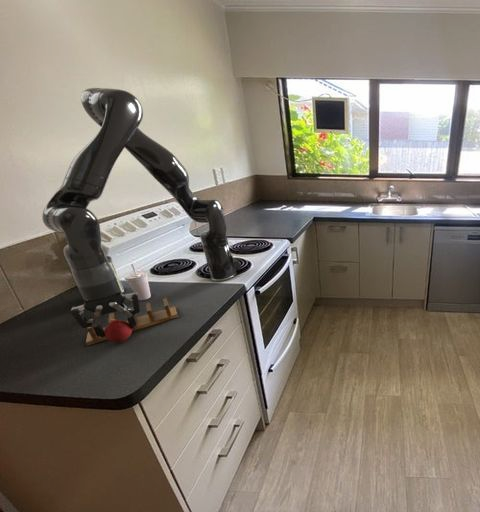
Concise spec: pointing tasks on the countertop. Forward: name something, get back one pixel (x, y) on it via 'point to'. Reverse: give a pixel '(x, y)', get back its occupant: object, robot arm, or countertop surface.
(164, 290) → the countertop surface
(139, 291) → the smoothie
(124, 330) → the red round piece
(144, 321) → the dish rack
